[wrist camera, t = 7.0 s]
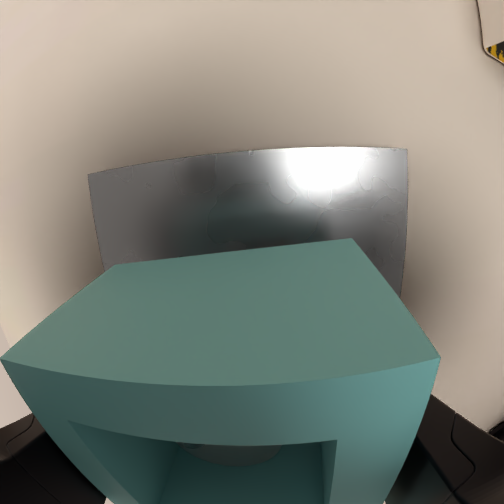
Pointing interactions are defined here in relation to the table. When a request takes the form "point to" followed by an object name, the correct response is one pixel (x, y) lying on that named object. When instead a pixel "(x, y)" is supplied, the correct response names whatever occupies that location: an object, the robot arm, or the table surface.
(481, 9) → the medicine bottle
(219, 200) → the silver peg base
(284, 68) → the table surface
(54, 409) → the collar
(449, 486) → the robot arm
